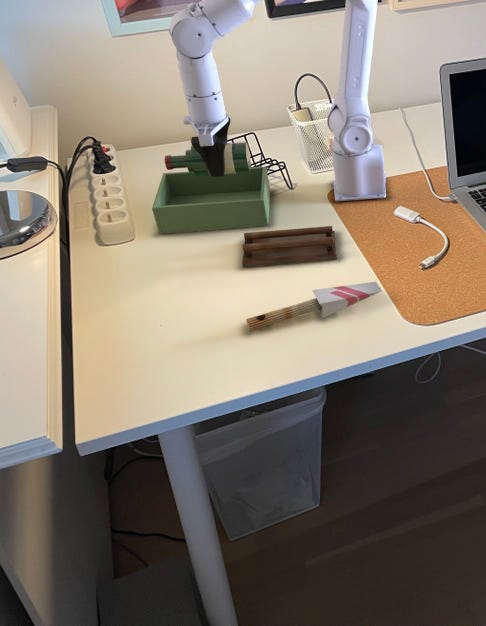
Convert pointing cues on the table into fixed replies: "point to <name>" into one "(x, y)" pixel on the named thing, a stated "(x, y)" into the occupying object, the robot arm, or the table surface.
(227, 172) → the bottle
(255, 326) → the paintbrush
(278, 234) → the rack
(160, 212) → the basket
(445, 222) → the table surface
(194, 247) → the table surface
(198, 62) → the robot arm
